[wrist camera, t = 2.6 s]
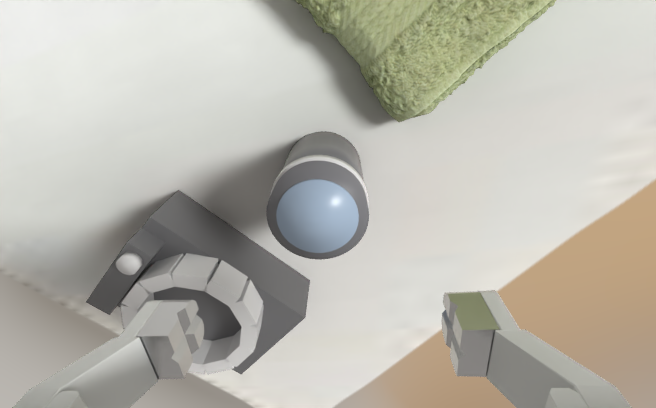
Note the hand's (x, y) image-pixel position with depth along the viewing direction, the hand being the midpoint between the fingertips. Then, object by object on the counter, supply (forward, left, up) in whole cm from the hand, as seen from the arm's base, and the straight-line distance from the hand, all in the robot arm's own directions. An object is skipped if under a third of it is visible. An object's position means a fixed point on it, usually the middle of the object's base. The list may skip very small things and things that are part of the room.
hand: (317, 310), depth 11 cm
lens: (0, 0, -13) cm, 13 cm away
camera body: (-9, -8, -13) cm, 18 cm away
